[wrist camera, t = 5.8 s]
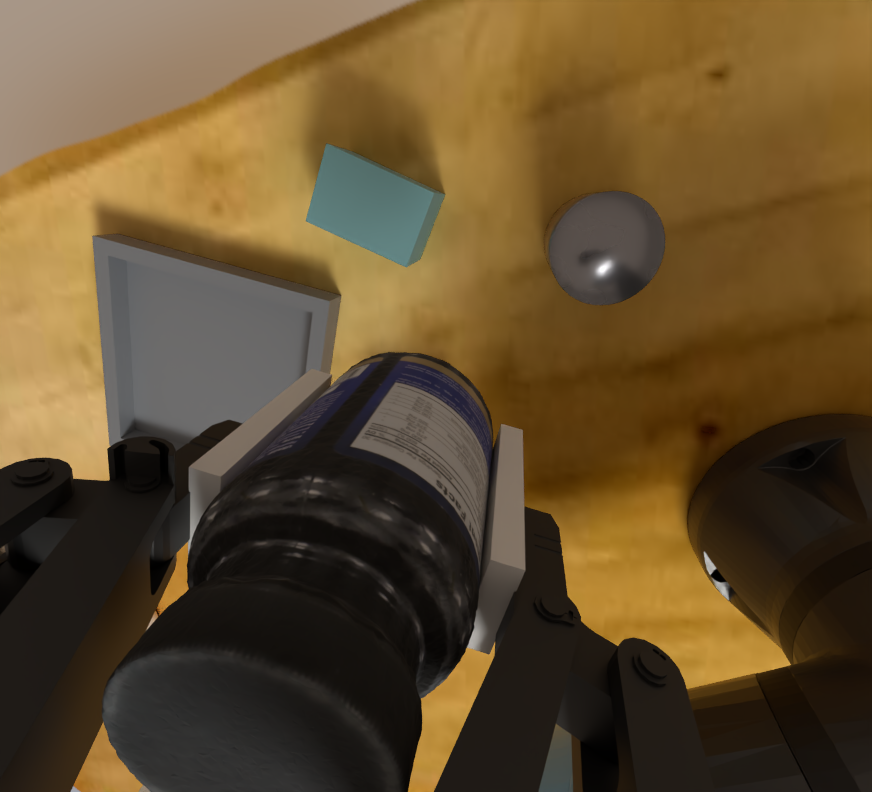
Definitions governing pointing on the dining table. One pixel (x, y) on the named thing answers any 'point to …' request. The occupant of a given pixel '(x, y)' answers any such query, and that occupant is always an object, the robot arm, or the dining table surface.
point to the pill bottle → (319, 597)
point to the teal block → (373, 206)
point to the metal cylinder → (604, 246)
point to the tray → (199, 338)
